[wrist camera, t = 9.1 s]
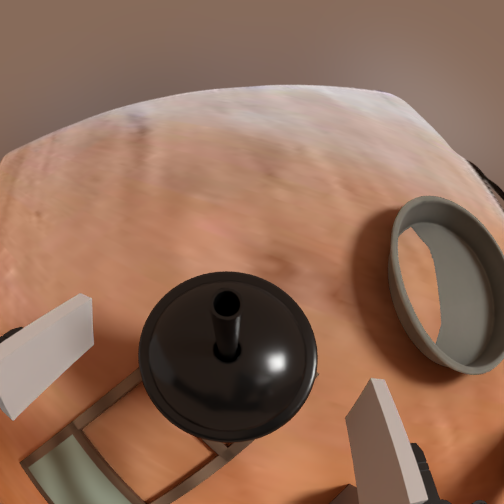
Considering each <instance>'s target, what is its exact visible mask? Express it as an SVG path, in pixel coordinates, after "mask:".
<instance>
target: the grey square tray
mask: <svg viewBox="0 0 504 504" xmlns="http://www.w3.org/2000/svg"><path fill="white" fill-rule="evenodd" d="M330 504H359V499H358V492H357V488H356V487H355V486H353V485H351V484H349V485H348V486H347V487H346V488H345V489H344V490H343V491H342V492H341V493H340V494H339V495H338V496H337V497H336V498H335V499H334V500H333V501H332V502H331V503H330Z"/></svg>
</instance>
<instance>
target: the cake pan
mask: <svg viewBox="0 0 504 504" xmlns="http://www.w3.org/2000/svg"><path fill="white" fill-rule="evenodd" d="M410 227H412V228H413V230H414V231H415V232H416V233H417V235H418V236H419V237H420V238H421V240H422V241H423V242H424V243H425V244H426V245H427V246H428V247H429V249H430V251H431V254H432V258H433V260H434V265H435V271H436V278H437V285H438V292H439V301H440V311H441V327H440V331H439V334H438V338H437V341H436V344H435V343H434V342H433V341H432V339H431V338H430V337H429V335H428V334H427V333H426V331H425V330H424V328H423V326H422V325H421V323H420V321H419V319H418V318H417V316H416V314H415V312H414V309H413V307H412V305H411V303H410V300H409V298H408V295H407V293H406V290H405V287H404V283H403V279H402V275H401V271H400V266H399V260H398V237H399V236H400V234H401V233H403V232H404V231H405V230H406V229H408V228H410ZM388 281H389V289H390V293H391V297H392V301H393V304H394V308H395V310H396V313H397V315H398V318H399V320H400V322H401V324H402V326H403V328H404V330H405V331H406V333H407V335H408V336H409V338H410V339H411V340H412V342H413V343H414V344H415V346H416V347H417V348H418V349H419V350H420V351H421V352H422V353H423V354H424V355H425V356H426V357H428V358H429V359H430V360H432V361H434V362H435V363H437V364H440V365H442V366H446V367H450V368H452V369H453V370H456V371H458V372H460V373H464V374H469V375H479V374H484V373H486V372H489V371H491V370H492V369H494V368H495V367H496V366H497V365H498V364H499V363H500V362H501V361H502V360H503V359H504V255H503V253H502V251H501V249H500V247H499V246H498V244H497V243H496V241H495V239H494V238H493V237H492V235H491V234H490V233H489V231H488V230H487V229H486V228H485V226H484V225H483V224H482V223H481V222H480V221H479V220H478V219H477V218H476V217H475V216H474V215H472V214H471V213H470V212H469V211H467V210H466V209H464V208H463V207H461V206H460V205H458V204H456V203H454V202H452V201H450V200H447V199H444V198H441V197H436V196H421V197H418V198H415V199H412V200H411V201H409V202H407V203H406V204H405V205H404V206H403V207H402V208H401V209H400V211H399V212H398V214H397V216H396V218H395V221H394V224H393V228H392V235H391V250H390V254H389V260H388Z"/></svg>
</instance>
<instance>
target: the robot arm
mask: <svg viewBox="0 0 504 504" xmlns="http://www.w3.org/2000/svg"><path fill="white" fill-rule="evenodd" d="M93 345H94V336H93V318H92V298H90V297H88V296H86V295H84V294H81V293H80V294H78V295H76V296H75V297H73V298H71V299H70V300H68V301H66V302H65V303H63V304H61V305H60V306H58V307H56V308H55V309H53V310H51V311H50V312H48V313H47V314H45V315H43V316H42V317H40V318H39V319H37V320H35V321H34V322H32V323H31V324H29V325H28V326H26V327H24V328H23V327H19V328H15V329H12V330H10V331H9V332H7V333H5V334H4V335H3V336H1V337H0V408H1V410H2V411H3V412H4V413H5V414H6V415H7V416H8V417H9V418H10V419H11V420H13V421H14V420H15V419H16V418H17V417H18V416H19V415H20V414H21V413H22V412H23V411H24V410H25V409H26V408H27V407H28V406H29V405H30V404H31V403H32V402H33V401H34V400H35V399H36V398H37V397H38V396H39V395H40V394H41V393H42V392H43V391H44V390H45V389H46V388H47V387H49V386H50V385H51V384H52V383H53V382H54V381H55V380H56V379H57V378H58V377H59V376H60V375H61V374H62V373H63V372H65V371H66V370H67V369H68V368H69V367H70V366H71V365H72V364H73V363H74V362H75V361H76V360H78V359H79V358H80V357H81V356H82V355H83V354H84V353H85V352H86V351H87V350H89V349H90V348H91V347H92V346H93ZM345 419H346V425H347V430H348V435H349V441H350V447H351V453H352V459H353V465H354V471H355V478H356V485H357V492H358V499H359V504H451V503H450V502H448V501H447V500H443V499H442V500H440V498H439V496H438V493H437V490H436V487H435V484H434V481H433V478H432V475H431V472H430V471H429V466H428V464H427V463H426V458H425V456H424V453H423V451H422V450H421V448H420V447H419V446H418V445H417V444H416V443H410V442H409V439H408V437H407V434H406V431H405V429H404V426H403V424H402V421H401V418H400V416H399V413H398V411H397V408H396V406H395V403H394V401H393V399H392V396H391V394H390V391H389V389H388V387H387V384H386V382H385V380H383V379H375V378H370V380H369V381H368V383H367V385H366V386H365V388H364V390H363V391H362V393H361V395H360V396H359V398H358V399H357V401H356V403H355V404H354V406H353V407H352V409H351V410H350V412H349V413H348V415H347V416H346V418H345ZM472 504H487V503H486V502H485V501H482V500H477V501H475V502H474V503H472Z"/></svg>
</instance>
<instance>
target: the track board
mask: <svg viewBox="0 0 504 504" xmlns="http://www.w3.org/2000/svg"><path fill="white" fill-rule="evenodd" d="M318 375H319V374H318V373H317V372H316V377H317V376H318ZM316 377H315V378H316ZM140 382H142V378H141V374H140V369H139V368H138V369H136V370H135V371H134V372H133V373H132V374H130V375H129V376H128V377H127V378H126V379H124V380H123V381H122V382H121V383H119V384H118V385H117V386H116V387H115V388H113V389H112V390H111V391H110V392H108V393H107V394H106V395H105V396H103V397H102V398H101V399H100V400H99V401H97V402H96V403H95V404H94V405H92V406H91V407H90V408H89V409H87V410H86V411H85V412H84V413H82V414H81V415H80V416H79V417H77V418H76V419H75V420H74V421H72V422H71V423H70V424H69V425H67V426H66V427H65V428H64V429H62V430H61V431H60V432H58V433H57V434H56V435H55V436H53V437H52V438H51V439H50V440H48V441H47V442H46V443H44V444H43V445H42V446H41V447H39V448H38V449H37V450H35V451H34V452H33V453H32V454H30V455H29V456H28V457H26V458H25V459H24V460H22V461H21V462H20V464H21V466H22V468H23V469H24V471H25V472H26V474H27V475H28V477H29V478H30V480H31V481H32V482H33V484H34V485H35V487H36V488H37V489H38V491H39V492H40V493H41V495H42V496H43V497H44V498H45V500H46V501H47V502H48V503H49V504H146V503H145V502H144V501H143V500H142V499H141V498H140V497H139V496H138V495H137V494H136V493H135V492H134V491H133V490H132V489H131V488H130V487H129V486H128V485H127V484H126V483H125V482H124V481H123V480H122V479H121V478H120V477H119V476H118V475H117V473H116V472H115V471H114V470H113V469H112V468H111V467H110V466H109V464H108V463H107V462H106V461H105V460H104V458H103V457H102V456H101V455H100V454H99V452H98V451H97V450H96V449H95V447H94V446H93V445H92V443H91V442H90V441H89V439H88V438H87V437H86V435H85V434H84V433H83V431H82V430H81V429H83V428H84V427H85V426H87V425H88V424H89V423H90V422H92V421H93V420H94V419H95V418H97V417H98V416H99V415H101V414H102V413H103V412H104V411H106V410H107V409H108V408H109V407H111V406H112V405H113V404H114V403H116V402H117V401H118V400H119V399H121V398H122V397H123V396H124V395H126V394H127V393H128V392H129V391H130V390H132V389H133V388H134V387H135V386H137V385H138V384H139V383H140ZM202 440H203V441H204V442H205V443H206V444H207V445H209V446H210V447H211V448H212V449H213V450H214V451H215V452H216V453H217V454H218V455H217V456H216V457H215V458H214V459H212V460H211V461H210V462H209V463H207V464H206V465H205V466H203V467H202V468H201V469H199V470H198V471H197V472H195V473H194V474H193V475H191V476H190V477H189V478H187V479H186V480H184V481H183V482H181V483H180V484H179V485H177V486H176V487H174V488H173V489H171V490H170V491H168V492H167V493H165V494H164V495H162V496H160V497H159V498H157V499H156V500H154V501H152V502H151V503H149V504H170V503H172V502H174V501H175V500H177V499H178V498H180V497H181V496H183V495H184V494H186V493H187V492H189V491H190V490H192V489H193V488H195V487H196V486H197V485H199V484H200V483H202V482H203V481H204V480H206V479H207V478H208V477H210V476H211V475H212V474H214V473H215V472H216V471H218V470H219V469H220V468H221V467H223V466H224V465H225V464H227V463H228V462H229V461H230V460H231V459H233V458H234V457H235V456H236V455H237V454H239V453H240V452H241V451H242V450H243V449H245V448H246V447H247V446H248V445H249V444H250V443H251V442H253V441H254V440H255V439H254V440H250V441H245V442H237V443H232V444H231V445H230V446H228V447H227V446H226V445H225V444H224V443H221V442H213V441H209V440H204V439H202Z"/></svg>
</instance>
